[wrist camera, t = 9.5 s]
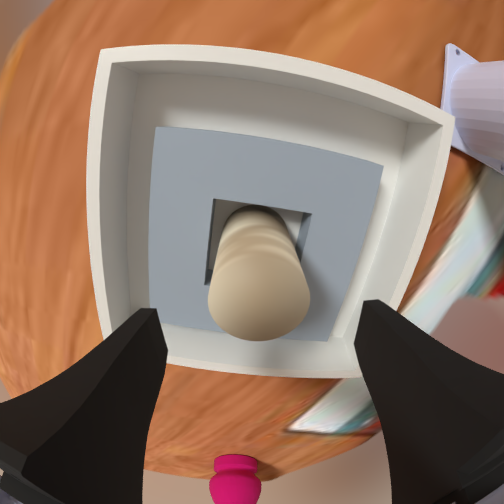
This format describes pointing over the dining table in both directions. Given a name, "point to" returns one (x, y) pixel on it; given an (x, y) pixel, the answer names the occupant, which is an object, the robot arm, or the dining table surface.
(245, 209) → the peg
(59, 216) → the dining table surface
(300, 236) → the bore plate
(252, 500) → the pepper mill
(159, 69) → the tray
